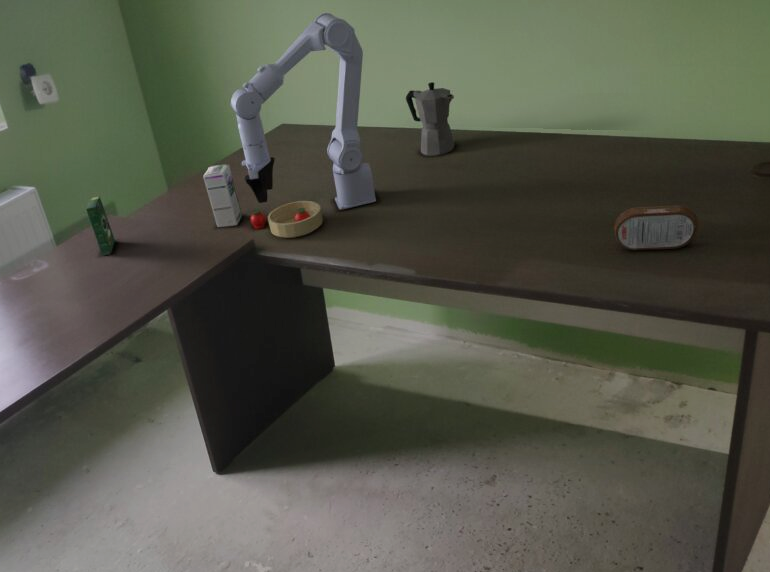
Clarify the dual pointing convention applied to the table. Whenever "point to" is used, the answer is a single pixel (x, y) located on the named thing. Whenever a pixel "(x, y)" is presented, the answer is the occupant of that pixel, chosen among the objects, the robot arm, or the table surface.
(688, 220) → the tin
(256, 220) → the strawberry
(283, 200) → the table surface
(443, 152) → the coffeepot
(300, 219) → the strawberry
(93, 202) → the coffee box
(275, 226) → the bowl
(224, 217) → the white carton
